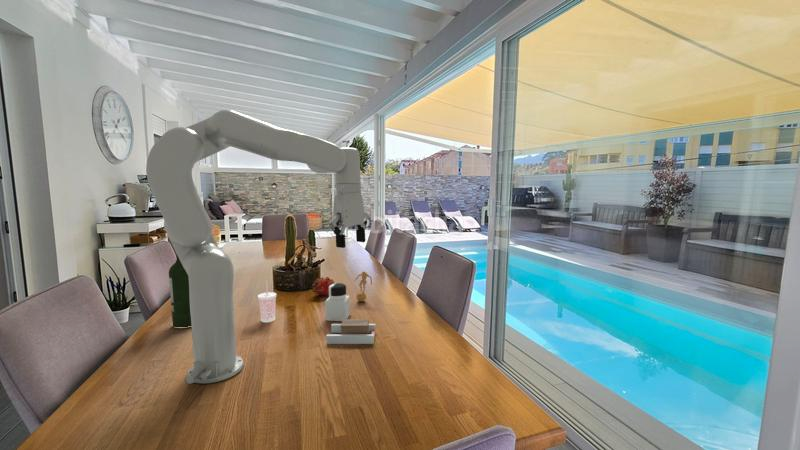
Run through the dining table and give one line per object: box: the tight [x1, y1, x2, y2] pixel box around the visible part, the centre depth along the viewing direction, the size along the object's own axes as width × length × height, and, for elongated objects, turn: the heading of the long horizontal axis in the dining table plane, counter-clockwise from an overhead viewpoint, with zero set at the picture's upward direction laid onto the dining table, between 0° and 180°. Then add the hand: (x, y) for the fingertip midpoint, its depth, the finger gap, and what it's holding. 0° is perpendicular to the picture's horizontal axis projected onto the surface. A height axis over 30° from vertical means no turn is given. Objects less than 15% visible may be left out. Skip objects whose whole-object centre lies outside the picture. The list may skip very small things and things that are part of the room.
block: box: [340, 318, 370, 334], centre depth 110 cm, size 5×8×5 cm, turn 92°
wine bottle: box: [168, 252, 192, 328], centre depth 119 cm, size 8×8×30 cm
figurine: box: [353, 271, 373, 303], centre depth 144 cm, size 8×6×12 cm
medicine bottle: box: [324, 282, 351, 322], centre depth 126 cm, size 7×7×12 cm
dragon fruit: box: [311, 276, 335, 297], centre depth 152 cm, size 8×8×12 cm
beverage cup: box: [257, 280, 277, 323], centre depth 124 cm, size 6×6×14 cm
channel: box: [325, 323, 376, 345], centre depth 111 cm, size 9×14×2 cm, turn 90°
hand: (351, 244), depth 112 cm, fingers open, 9 cm apart
